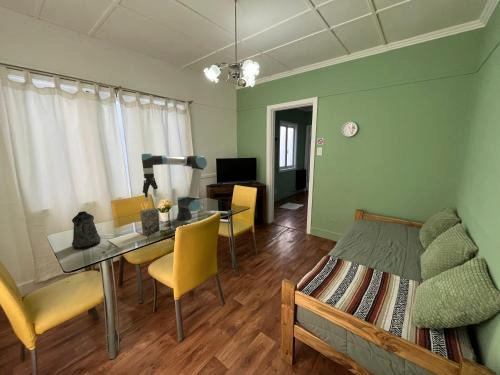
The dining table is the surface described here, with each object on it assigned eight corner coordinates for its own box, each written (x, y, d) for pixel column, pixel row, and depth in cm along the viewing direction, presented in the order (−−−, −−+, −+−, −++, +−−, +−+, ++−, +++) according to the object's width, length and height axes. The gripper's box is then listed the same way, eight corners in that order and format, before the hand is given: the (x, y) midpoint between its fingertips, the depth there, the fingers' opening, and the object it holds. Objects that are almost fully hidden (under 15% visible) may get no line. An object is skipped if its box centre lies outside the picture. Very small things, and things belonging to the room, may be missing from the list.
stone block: (146, 235, 169) (144, 211, 166) (141, 233, 173) (139, 210, 169) (160, 230, 180) (159, 208, 177) (156, 229, 184) (154, 207, 180)
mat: (137, 232, 176) (137, 231, 176) (149, 237, 165) (149, 237, 165) (107, 240, 159) (107, 240, 159) (119, 247, 147) (118, 246, 147)
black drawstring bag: (97, 238, 163) (93, 207, 159) (105, 245, 151) (101, 212, 147) (69, 245, 150) (64, 212, 146) (76, 253, 138) (71, 217, 134)
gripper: (151, 171, 179) (154, 195, 184) (135, 175, 155) (138, 202, 159) (160, 171, 179) (162, 195, 183) (145, 175, 155) (148, 202, 159)
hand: (151, 198), depth 171 cm, fingers open, 13 cm apart
